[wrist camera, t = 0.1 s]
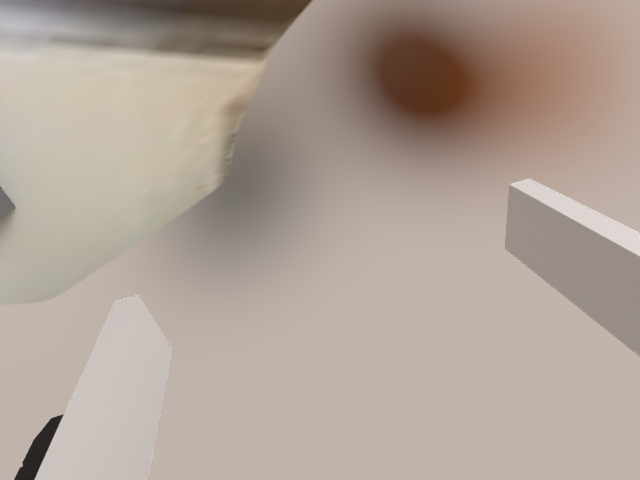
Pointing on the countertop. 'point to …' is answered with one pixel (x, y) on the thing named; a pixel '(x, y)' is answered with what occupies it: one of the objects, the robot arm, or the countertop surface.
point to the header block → (5, 204)
